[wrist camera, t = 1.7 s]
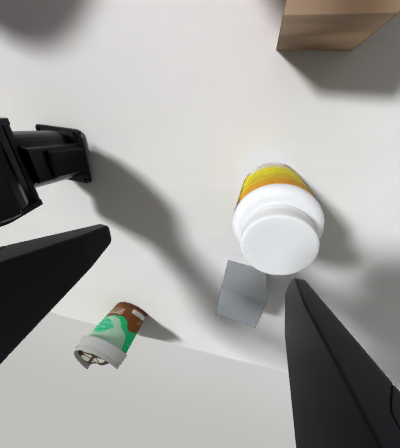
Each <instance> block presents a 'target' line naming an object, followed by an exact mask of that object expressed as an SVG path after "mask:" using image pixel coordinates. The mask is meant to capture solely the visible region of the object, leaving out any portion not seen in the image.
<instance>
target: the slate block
mask: <svg viewBox="0 0 400 448" xmlns="http://www.w3.org/2000/svg"><path fill="white" fill-rule="evenodd" d="M266 303H267V286H266V273H264V272H261V271H259V270H257V269H255V268H254V267H252V266H248V265H245V264H241V263H237V262H233V261H230V260H228V263H227V267H226V271H225V275H224V279H223V283H222V287H221V291H220V296H219V300H218V305H217V309H216V315H219V316H222V317H225V318H228V319H231V320H234V321H237V322H240V323H243V324H246V325H249V326H252V327H254V328H256V325H257V323H258V321H259V319H260V316H261V314H262V312H263V310H264V308H265V305H266Z"/></svg>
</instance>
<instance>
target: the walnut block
mask: <svg viewBox="0 0 400 448" xmlns="http://www.w3.org/2000/svg"><path fill="white" fill-rule="evenodd" d="M399 11H400V0H286V4H285V9H284V13H283V18H282V23H281V28H280V33H279V38H278V43H277V48H276V50H323V51H352V50H354V49H355V48H356V47H357V46H358V45H360V44H361V43H362V42H363V41H365V40H366V39H367V38H368V37H369V36H371V35H372V34H373V33H374V32H376V31H377V30H378V29H379V28H380V27H382V26H383V25H384V24H385V23H387V22H388V21H389V20H390V19H391V18H393V17H394V16H395V15H396V14H398V13H399Z"/></svg>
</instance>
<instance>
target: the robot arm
mask: <svg viewBox="0 0 400 448" xmlns="http://www.w3.org/2000/svg"><path fill="white" fill-rule="evenodd" d="M36 130H37V131H12V130H11V128H10V122H9V120H8V118H3V117H0V227H1V226H4V225H7V224H9V223H11V222H13V221H15V220H17V219H18V218H20V217H22V216H23V215H25V214H27V213H29V212H30V211H32V210H34V209H35V208H37V207H39V206H40V205H42V204H43V203H42V201H41V199H40V198H39V196H38V193H37V191H36V189H35V188H36V187H40V186H43V185H47V184H50V183H54V182H58V181H61V180H65V179H70V180H74V181H79V182H84V183H89V182H91V177H90V173H89V168H88V164H87V160H86V156H85V151H84V147H83V143H82V139H81V134H80V132H79V131H78V130H77V129H72V128H64V127H57V126H50V125H42V124H36ZM75 133H76V134H75ZM110 243H111V235H110V230H109V227H108V226H106V225H102V224H99V225H94V226H90V227H85V228H81V229H77V230H72V231H68V232H64V233H59V234H55V235H50V236H46V237H42V238H37V239H33V240H29V241H24V242H20V243H16V244H11V245H7V246H2V247H0V364H1V363H2V362H3V361H4V360H5V359H6V358H7V356H8V355H9V354H10V353H11V352H12V351H13V350H14V349H15V348H16V347H17V346H18V344H19V343H20V342H21V341H22V340H23V339H24V338H25V337H26V336H27V335H28V334H29V333H30V332H31V331H32V330H33V329H34V328H35V327H36V325H37V324H38V323H39V322H40V321H41V320H42V319H43V318H44V317H45V316H46V315H47V314H48V313H49V312H50V311H51V310H52V308H53V307H54V306H55V305H56V304H57V303H58V302H59V301H60V300H61V299H62V298H63V297H64V296H65V295H66V294H67V293H68V291H69V290H70V289H71V288H72V287H73V286H74V285H75V284H76V283H77V282H78V281H79V280H80V279H81V278H82V277H83V276H84V274H85V273H86V272H87V271H88V270H89V269H90V268H91V267H92V266H93V265H94V263H95V262H96V261H97V260H98V258H99V257H100V256H101V254H102V253H103V252H104V251H105V249H106V248H107V247H108V245H109V244H110ZM285 341H286V351H287V360H288V370H289V379H290V390H291V400H292V408H293V420H294V429H295V440H296V448H400V391H399V390H398V389H397V388H396V387H395V386H394V385H392V382H391V381H390V380H389V378H388V377H387V376H386V375H385V374H384V373H383V371H382V370H381V369H380V368H379V367H378V365H377V364H376V363H375V362H374V361H373V360H372V358H371V357H370V356H369V355H368V354H367V353H366V351H365V350H364V349H363V348H362V347H361V346H360V344H359V343H358V342H357V341H356V340H355V338H354V337H353V336H352V335H351V334H350V333H349V331H348V330H347V329H346V328H345V327H344V326H343V324H342V323H341V322H340V321H339V320H338V318H337V317H336V316H335V315H334V314H333V313H332V311H331V310H330V309H329V308H328V307H327V306H326V304H325V303H324V302H323V301H322V300H321V298H320V297H319V296H318V295H317V294H316V293H315V291H314V290H313V289H312V288H311V287H310V286H309V284H308V283H307V282H306V281H305V280H302V279H298V278H293V279H292V281H291V283H290V285H289V287H288V289H287V291H286V294H285Z"/></svg>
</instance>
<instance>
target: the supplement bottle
mask: <svg viewBox="0 0 400 448" xmlns="http://www.w3.org/2000/svg"><path fill="white" fill-rule="evenodd" d="M324 225H325V218H324V214H323V210H322V208H321V206H320V204H319V203H318V201H317V200H316V198H315V197H314V196H313V194H312V193H311V192H310V190H309V189H308V188H307V186H306V185H305V183H304V182H303V181H302V179H301V178H300V177H299V175H298V174H297V173H296V172H295V171H294V170H293V169H292V168H291V167H289V166H287V165H285V164H281V163H267V164H263V165H261V166H259V167H257V168H255V169H254V170H253V171H251V172H250V173H249V174H248V176H247V177H246V179H245V180H244V183H243V185H242V188H241V192H240V195H239V198H238V202H237V205H236V208H235V211H234V215H233V221H232V227H233V232H234V235H235V238H236V240H237V241H238V243H239V244H240V245H241V251H242V254H243V256H244V258H245V260H246V261H247V262H248V263H249V264H250V265H251V266H252V267H254V268H255V269H257V270H259V271H261V272H264V273H267V274H272V275H289V274H294V273H297V272H299V271H302V270H304V269H305V268H307V267H308V266H309V265H311V264H312V262H313V261H314V260H315V259H316V257H317V255H318V252H319V247H320V242H319V239H320V238H321V236H322V233H323V231H324Z"/></svg>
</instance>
